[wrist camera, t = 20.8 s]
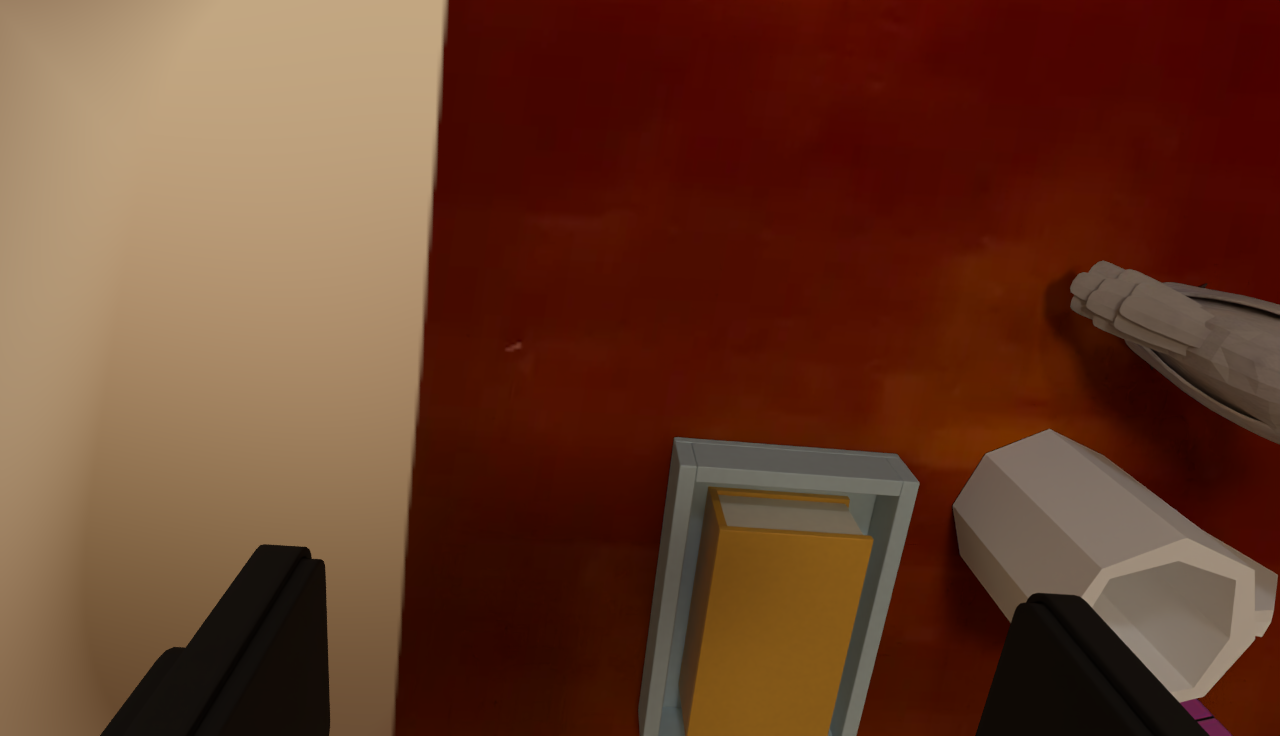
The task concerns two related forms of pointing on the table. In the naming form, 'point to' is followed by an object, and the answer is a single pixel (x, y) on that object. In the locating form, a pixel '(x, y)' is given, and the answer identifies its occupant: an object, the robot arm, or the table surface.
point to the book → (770, 613)
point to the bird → (1194, 340)
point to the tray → (865, 477)
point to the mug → (1112, 558)
